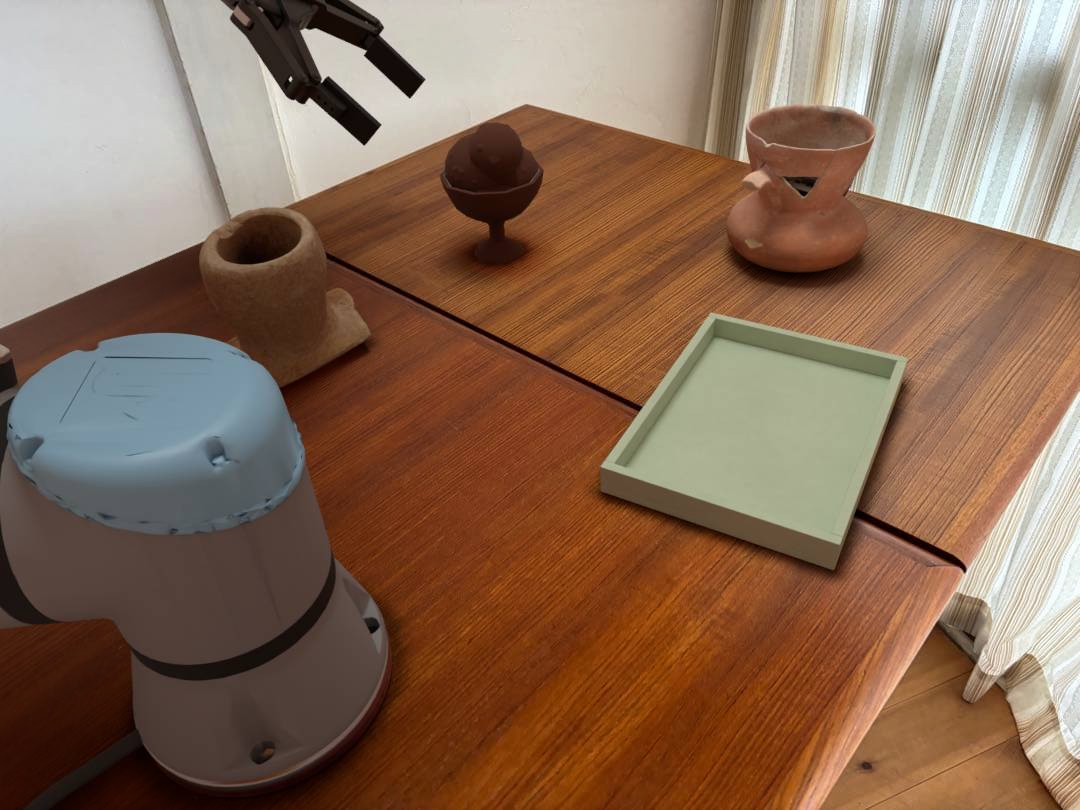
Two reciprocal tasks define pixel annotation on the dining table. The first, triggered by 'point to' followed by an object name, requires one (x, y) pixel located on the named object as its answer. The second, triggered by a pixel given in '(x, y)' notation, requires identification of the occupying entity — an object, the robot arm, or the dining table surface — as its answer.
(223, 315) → the stone cup
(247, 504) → the robot arm
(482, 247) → the ice cream bowl
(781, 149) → the ceramic jug
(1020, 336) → the dining table surface
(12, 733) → the dining table surface
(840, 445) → the serving tray
